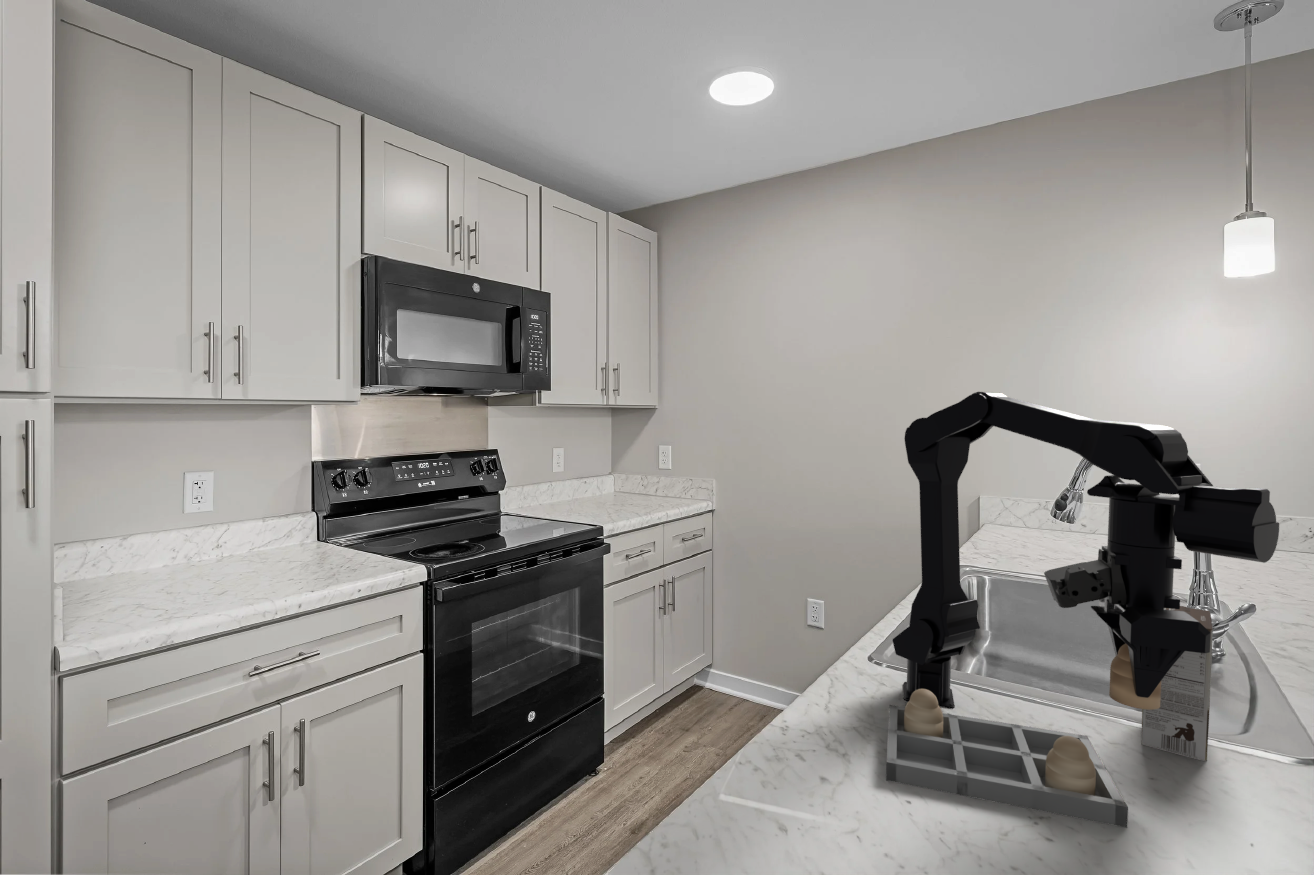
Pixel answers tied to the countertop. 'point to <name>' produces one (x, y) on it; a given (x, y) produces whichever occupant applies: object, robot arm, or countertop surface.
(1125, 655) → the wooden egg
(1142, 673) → the robot arm
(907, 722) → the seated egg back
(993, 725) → the egg carton
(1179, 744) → the coffee box
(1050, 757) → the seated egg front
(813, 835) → the countertop surface
